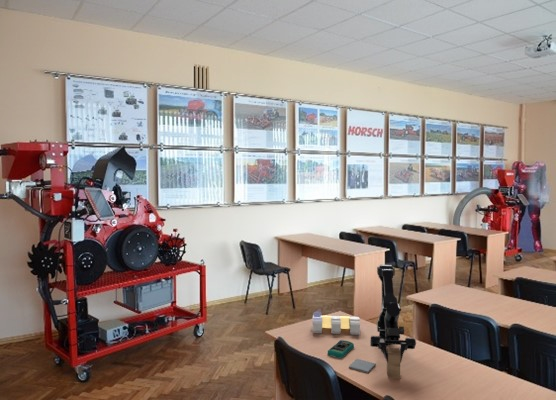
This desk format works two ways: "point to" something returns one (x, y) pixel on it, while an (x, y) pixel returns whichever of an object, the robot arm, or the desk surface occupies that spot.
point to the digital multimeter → (340, 349)
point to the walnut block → (393, 363)
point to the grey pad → (362, 365)
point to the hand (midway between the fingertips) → (394, 362)
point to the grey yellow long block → (335, 323)
